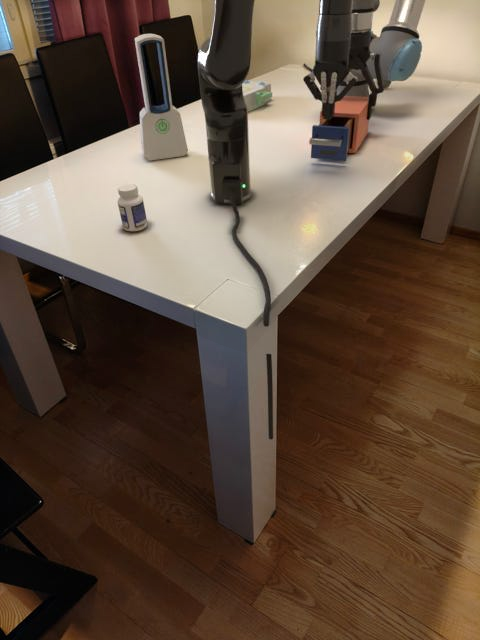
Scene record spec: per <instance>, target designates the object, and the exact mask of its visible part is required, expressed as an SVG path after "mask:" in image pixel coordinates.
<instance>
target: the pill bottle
mask: <svg viewBox="0 0 480 640" xmlns="http://www.w3.org/2000/svg"><path fill="white" fill-rule="evenodd" d="M117 193H118V196H119V197H118V199H117V206H118V210H119V211H118V212H119V215H120V219H121V224H122V227H123V229H124V230H125V231H128V232H138V231H141V230H144V229H146V227H147V226H148V217H147V214H146V208H145V203H144V198H143V196H142V195H141V194H139V188H138V185H137V184H135V183H132V182H131V183H123V184H121V185H119V186H118V187H117Z"/></svg>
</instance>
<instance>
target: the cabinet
mask: <svg viewBox="0 0 480 640" xmlns="http://www.w3.org/2000/svg"><path fill="white" fill-rule="evenodd" d="M368 102H369V97H357V96H344V97H343V98H342V100H341V101H337V102H335V113H334V116H333V117H348V118H355V123H354V133H353V143H352V145H351V147H350V148H349V150H348V151H347V154H348V153H349V154H356V153H357V151H358V150H359V149H360V146H361V144H362V143H363V141H364V140H365V138H366V136H368V133H369V126H370V125H369V124H370V119H369V120H367V111H368ZM323 120H324V117H322V109H321V110H320V111H319V123H318V125H319V124H320V123H321V122H322V121H323Z"/></svg>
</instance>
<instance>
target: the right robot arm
mask: <svg viewBox="0 0 480 640" xmlns="http://www.w3.org/2000/svg"><path fill="white" fill-rule="evenodd" d="M374 1H375V0H353V4H352V12H351V13H352V29H351V40H350V51H349V62H348V63H349V67H350V73H351V74H352V75H353V76H354V77H355V76H357V77H358V81H357V82H356V83H355V84H354V86H353V87H352V88H351V89H350V90H349V91H348V93H347V94H346V95H345V96H357V97H369V102H368V111H367V120H369V121H370V119H371V118H372V112H373V111H372V110H373V108H375V107H376V105H377V99H378V95H379V94H382V93H384V91H385V90H386V89H385V87H384V82H383V80H390V81H392V82H405V81H407V80H408V79H409V78H410V77H412V76H413V74H414V72H415V71H416V69H417V67H418V65H419V63H420V60H421V56H422V54H421V53H422V51H423V44H422V41H421V40H420V33H419V31H418V26H419V23H420V20H421V16H422V13H423V10H424V6H425V3H426V0H395V1H394V5H393V8H392V11H391V15H390V18H389V21H388V23H387V24H386V25H385V26H383V27H381V31H380V35H379V36H377V37H373V35H374V34H375V33H374V32H373V30H372V28H373V19H374V12H373V9H374ZM369 29H371V31H369ZM303 66H304V68H306V69H307V70H308V71H311V72H312V69H313V68H311V67H309V66H308V65H307V64H306V63H303ZM346 80H347V76H346V78H345V79H344V80H343V82H342V83H341V84H340V85H339V86H338V90H337V95H338V94H340V93H341V92H342V90H343V89H344V88H345V87H346V86H347V84H346ZM374 80H376V82H375V81H374ZM377 84H378V85H377ZM319 90H320V91H321V86H320V87H319ZM369 90H370V91H369ZM329 96H330V89H329Z"/></svg>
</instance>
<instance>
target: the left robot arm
mask: <svg viewBox="0 0 480 640" xmlns="http://www.w3.org/2000/svg"><path fill="white" fill-rule="evenodd" d="M255 2H256V0H214V17H213V24H212V31H211V35H210V36H207V38H205V40H204V41H203V42H202V43H201V45H200V47H199V50H198V53H197V72H198V82H199V92H200V99H201V107H202V110H203V113H204V122H205V132H206V144H207V155H208V166H209V167H208V168H209V179H210V189H211V192H210V195H211V200H212V201H214V203H215V204H216V205H231V207H232V210H233V212H234V215H235V222H234V223H235V224H234V225H233V227H232V229H231V235H232V238H233V241H234V242H235V244H236V245H237V246H238V248H239V249H240V251H241V252H242V253H243V256H245V258H246V259H247V260H248V261H249V262H250V264H251V265H253V267H254V269H256V271H257V273H258V274H259V277H260V279H261V281H262V285H263V289H264V294H265V295H264V296H265V304H264V308H263V317H262V318H263V320H262V321H263V326H264V327H269V325H270V308H271V304H272V297H271V290H270V285H269V282H268V278H267V277H266V275H265V273H264V271H263V269H262V268H261V265H260V264H259V263H258V262H257V261H256V260H255V259H254V257H253V256H252V255H251V254H250V253H249V251H248V250H247V248H246V247H245V246H244V244H243V243H242V242H241V241H240V239H239V237H238V235H237V229H238V227H239V225H240V222H241V220H240V219H241V217H240V212H239V210H238V207H237V205H242V204H243V202H246V201H248V200H250V198H251V196H252V189H251V165H250V162H251V161H250V138H249V135H250V134H249V112H248V109H247V105H246V103H245V100H244V96H243V90H242V84H243V83H244V81H245V80H247V78H248V76H249V73H250V70H251V69H250V68H251V63H252V60H251V59H252V39H253V37H252V35H253V17H254V7H255ZM352 4H353V0H319V6H318V17H317V18H318V19H317V24H316V31H315V37H316V38H315V39H316V40H315V56H314V65H313V66H312V68H311V69H312V71H311V72H310V73H308V74H306V75H305V76H304V77H303V79H302V81H303V82H304V84H305V85H306V87H307V89H308V90H309V92H310V94H311V95H312V96H313V98H314V99H315V101H320V102H321V110H322V117H324V119H327V120H330V119H331V117H333V116H334V113H335V102H337V101H341V100H342V98H343V97H344V96H345V95H346V94H347V93H348V91H349V90H350V89H351V88H352V87H353V86H354V84H355V83H356V82H357V81H358V77H357V76H355V77H354V76H353V75H352V74H351V73H350V67H349V63H348V62H349V51H350V40H351V29H352V13H351V12H352ZM346 76H347V80H346V84H347V86H346V87H345V88H344V89H343V90H342V92H341V93H340V94H338V95H337V90H338V86H339V85H340V84H341V83H342V82H343V80H344V79H345V78H346ZM316 80H317V81H316ZM316 82H318V84H319V85H320V87H321V90H320V87H318V85H317V83H316ZM329 89H330V96H329ZM265 357H266V358H265V359H266V380H267V381H266V383H267V424H268V425H267V426H268V440H270V441H271V440H273V439H274V390H273V389H274V388H273V387H274V386H273V385H274V384H273V361H272V360H273V358H272V354H271V353H266V354H265Z"/></svg>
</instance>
